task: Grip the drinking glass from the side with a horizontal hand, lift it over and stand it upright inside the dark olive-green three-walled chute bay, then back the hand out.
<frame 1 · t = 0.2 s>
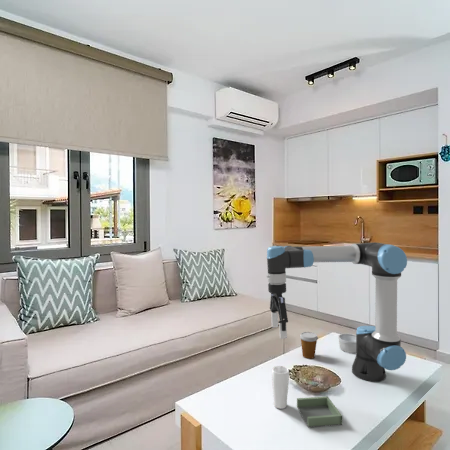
hand: (279, 332, 142), 28 cm above the table, tool pointing down, fingers open, 13 cm apart
ramekin: (350, 350, 190), on the table
disposable coffee cup: (308, 356, 181), on the table
chute bay: (318, 415, 129), on the table
drinking glass: (280, 406, 136), on the table
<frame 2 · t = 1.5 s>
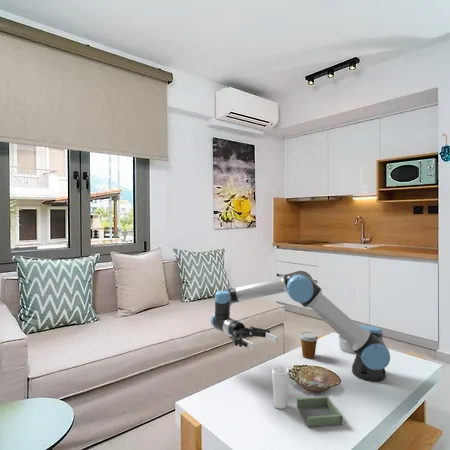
hand: (265, 343, 142), 23 cm above the table, tool horizontal, fingers open, 13 cm apart
nothing on the table moved.
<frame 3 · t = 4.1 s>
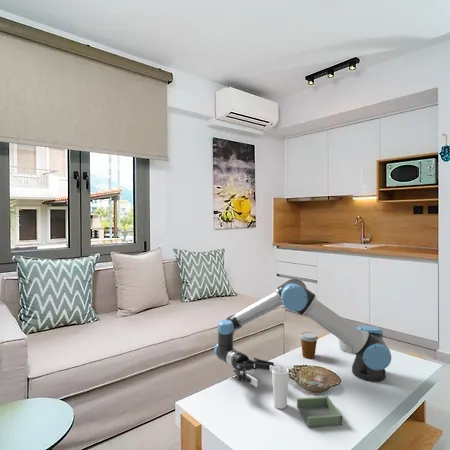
hand: (269, 378, 140), 9 cm above the table, tool horizontal, fingers open, 13 cm apart
nothing on the table moved.
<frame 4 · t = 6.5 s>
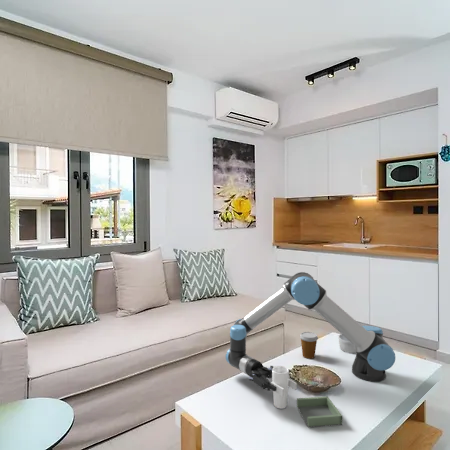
hand: (289, 389, 131), 9 cm above the table, tool horizontal, fingers closed on drinking glass, 6 cm apart
drinking glass: (280, 406, 136), on the table, touching gripper
everything else where it was.
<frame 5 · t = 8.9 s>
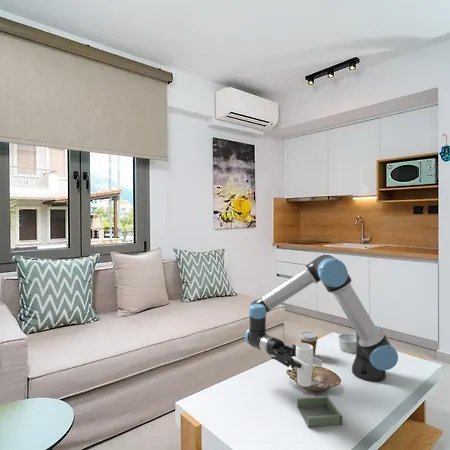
hand: (314, 366, 126), 21 cm above the table, tool horizontal, fingers closed on drinking glass, 6 cm apart
drinking glass: (304, 384, 131), point 11 cm above the table, touching gripper
everything else where it was.
when the fingers open (11 cm above the table, at t = 11.5 s): drinking glass drops 1 cm, resting on chute bay.
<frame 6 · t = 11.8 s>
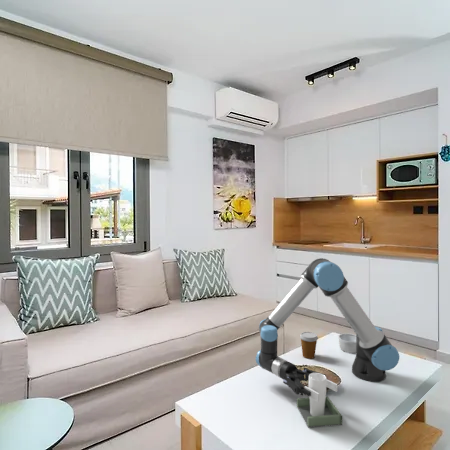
hand: (328, 392, 125), 11 cm above the table, tool horizontal, fingers open, 10 cm apart
drinking glass: (317, 415, 129), resting on chute bay
everything else where it was.
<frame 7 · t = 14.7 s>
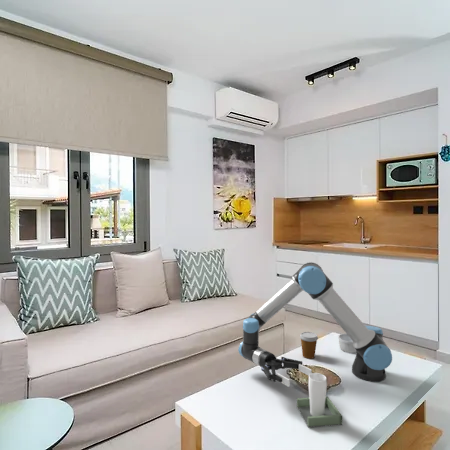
hand: (300, 378, 136), 11 cm above the table, tool horizontal, fingers open, 13 cm apart
nothing on the table moved.
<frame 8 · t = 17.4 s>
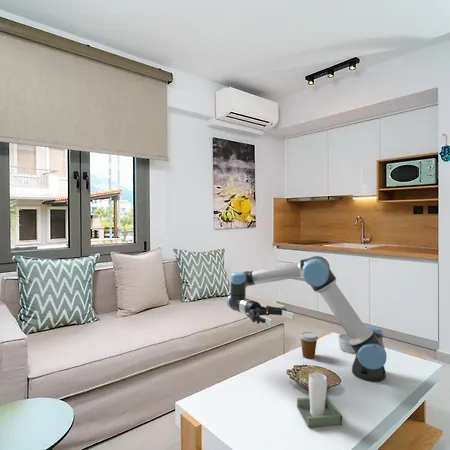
hand: (282, 319, 145), 32 cm above the table, tool horizontal, fingers open, 13 cm apart
nothing on the table moved.
at the end: drinking glass inside the target area on the chute bay (0.7 cm from its centre), point 0.3 cm above the chute bay's base; drinking glass tilted 0°; the gripper is holding nothing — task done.
